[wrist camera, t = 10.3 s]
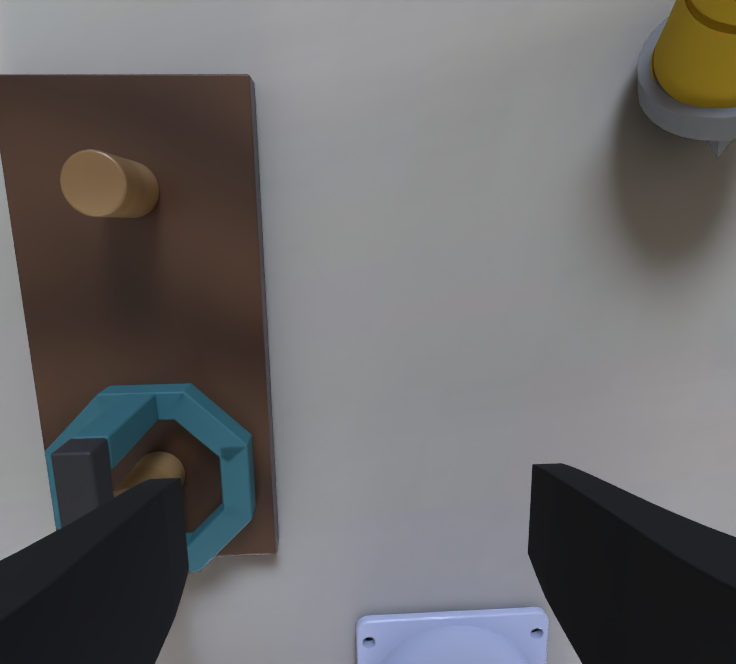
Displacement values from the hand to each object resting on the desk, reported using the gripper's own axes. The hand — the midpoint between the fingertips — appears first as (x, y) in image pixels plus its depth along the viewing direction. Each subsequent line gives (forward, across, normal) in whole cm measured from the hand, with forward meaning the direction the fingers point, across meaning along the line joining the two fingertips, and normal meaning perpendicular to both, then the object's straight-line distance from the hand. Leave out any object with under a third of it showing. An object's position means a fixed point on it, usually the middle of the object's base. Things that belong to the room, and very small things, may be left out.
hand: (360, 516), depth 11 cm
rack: (+9, +7, -2) cm, 12 cm away
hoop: (+8, +7, +3) cm, 11 cm away
